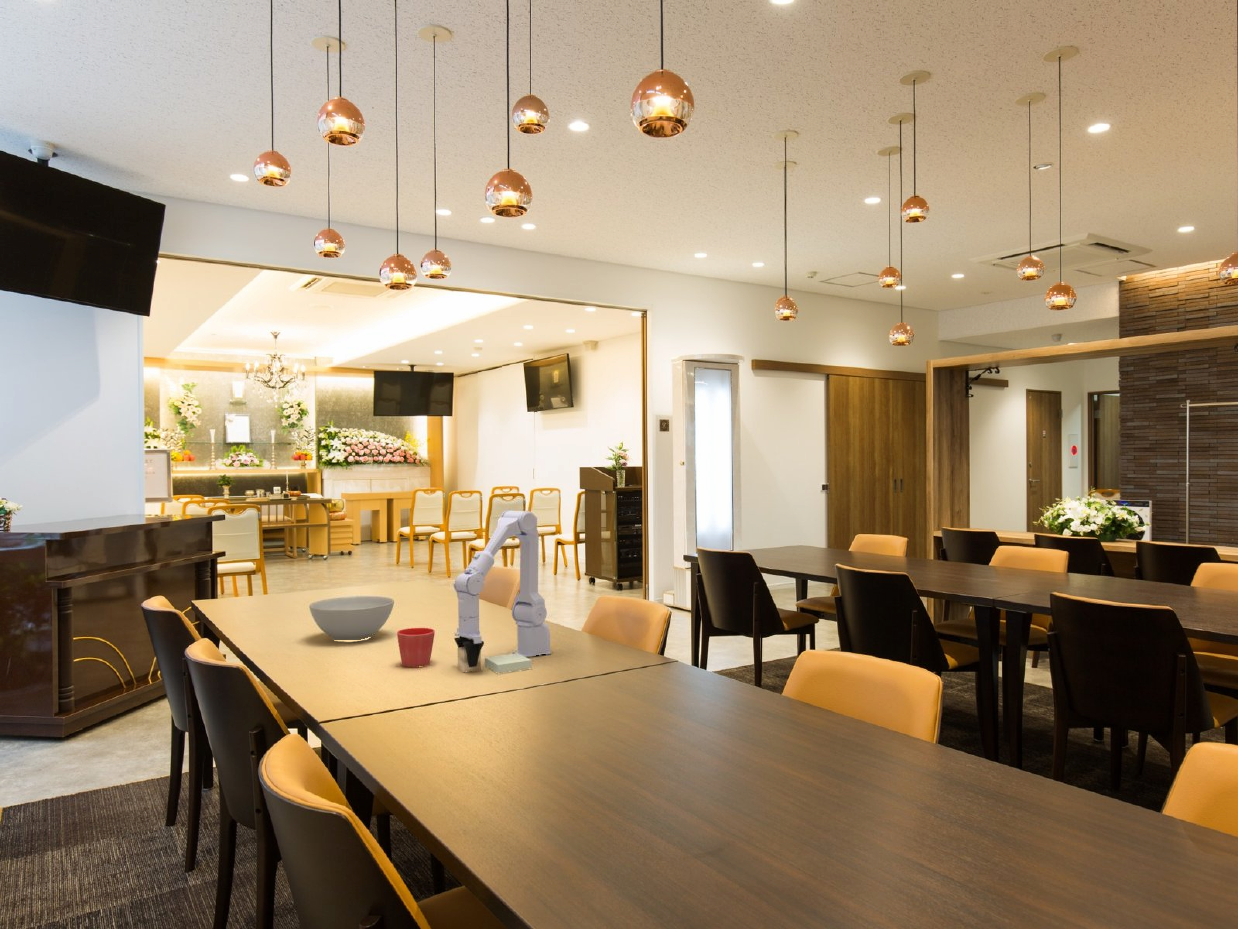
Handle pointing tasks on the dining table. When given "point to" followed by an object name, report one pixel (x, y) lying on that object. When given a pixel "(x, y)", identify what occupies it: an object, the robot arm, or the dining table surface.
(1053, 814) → the dining table surface
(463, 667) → the maple block
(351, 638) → the decorative bowl
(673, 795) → the dining table surface
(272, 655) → the dining table surface
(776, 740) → the dining table surface
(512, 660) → the base block
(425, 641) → the flower pot
